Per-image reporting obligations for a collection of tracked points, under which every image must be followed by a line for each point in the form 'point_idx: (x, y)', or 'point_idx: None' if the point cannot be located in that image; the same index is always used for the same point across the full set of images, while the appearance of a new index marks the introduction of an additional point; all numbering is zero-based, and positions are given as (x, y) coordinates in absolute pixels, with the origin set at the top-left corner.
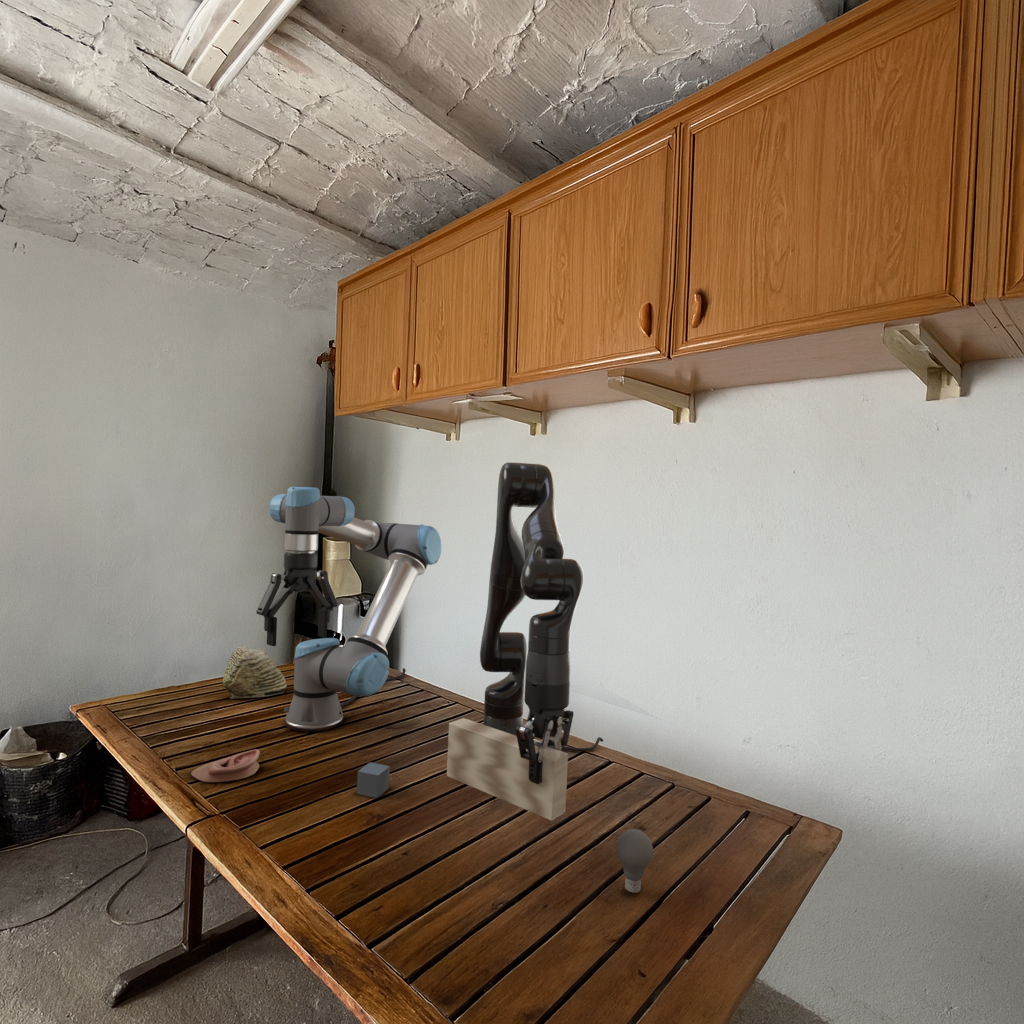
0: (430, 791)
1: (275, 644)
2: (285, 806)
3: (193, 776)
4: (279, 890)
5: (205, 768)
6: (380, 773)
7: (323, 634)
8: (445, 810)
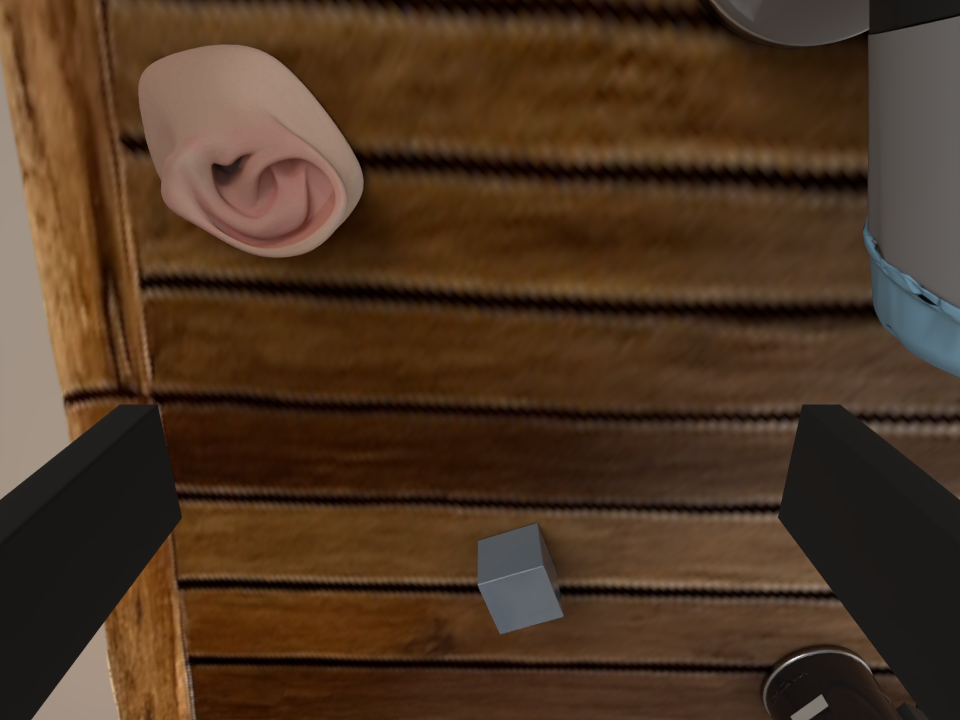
0: (615, 639)
1: (167, 526)
2: (302, 475)
3: (141, 113)
4: (156, 702)
5: (168, 131)
6: (512, 630)
7: (797, 529)
8: (566, 708)
